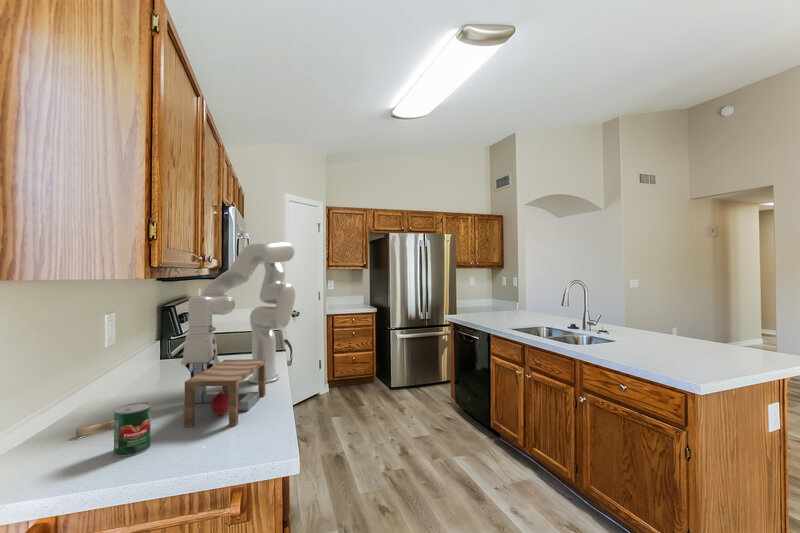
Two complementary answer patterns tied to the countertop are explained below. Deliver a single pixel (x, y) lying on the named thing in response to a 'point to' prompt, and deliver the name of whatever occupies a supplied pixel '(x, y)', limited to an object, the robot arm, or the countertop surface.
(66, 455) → the countertop surface
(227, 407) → the onion
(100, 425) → the wooden bar
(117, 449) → the canned tomato
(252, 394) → the grey angled piece
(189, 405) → the shelf
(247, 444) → the countertop surface
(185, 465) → the countertop surface
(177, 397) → the countertop surface
